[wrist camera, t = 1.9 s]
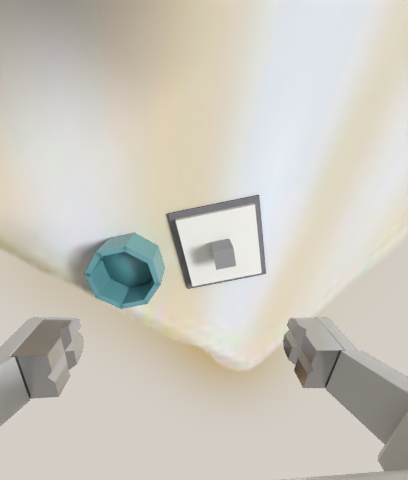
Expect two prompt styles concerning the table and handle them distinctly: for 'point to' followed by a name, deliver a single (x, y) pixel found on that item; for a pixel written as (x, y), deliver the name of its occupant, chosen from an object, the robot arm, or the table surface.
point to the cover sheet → (220, 230)
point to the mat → (211, 208)
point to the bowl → (125, 271)
